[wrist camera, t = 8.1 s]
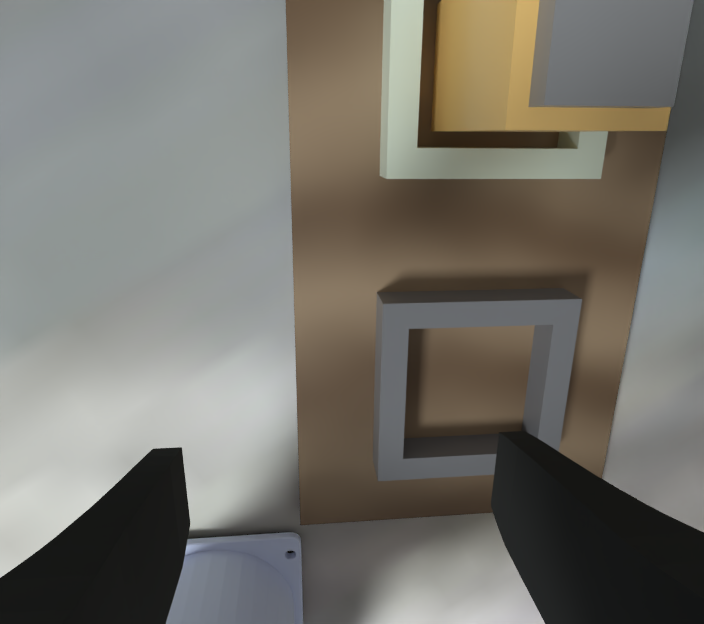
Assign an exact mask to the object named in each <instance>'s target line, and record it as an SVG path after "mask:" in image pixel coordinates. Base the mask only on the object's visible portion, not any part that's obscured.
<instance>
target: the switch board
mask: <svg viewBox="0 0 704 624" xmlns="http://www.w3.org/2000/svg"><path fill="white" fill-rule="evenodd" d="M440 1H441V0H424V8H423V30H422V52H421V74H420V96H419V118H418V140H417V147H505V148H557V145H558V137H559V132H450V131H431V123H432V102H433V82H434V62H435V41H436V21H437V4H438V3H439V2H440ZM383 14H384V0H286V24H287V60H288V96H289V132H290V168H291V204H292V240H293V276H294V312H295V347H296V383H297V419H298V455H299V491H300V525H310V524H325V523H340V522H355V521H370V520H385V519H401V518H416V517H431V516H446V515H461V514H476V513H491V512H493V510H492V508H491V497H492V489H493V480H494V475H477V476H460V477H443V478H426V479H409V480H392V481H378V480H377V476H376V471H375V467H374V463H373V427H374V386H375V344H376V303H377V292H407V291H453V290H498V289H544V288H564V289H566V290H567V291H569V292H571V293H573V294H574V295H576V296H578V297H580V298H581V299H582V304H581V311H580V317H579V324H578V330H577V337H576V343H575V350H574V356H573V363H572V369H571V376H570V382H569V389H568V395H567V402H566V408H565V415H564V421H563V428H562V434H561V441H560V447H559V452H560V453H562V454H563V455H565V456H566V457H568V458H569V459H571V460H572V461H574V462H576V463H577V464H579V465H580V466H582V467H583V468H585V469H587V470H588V471H590V472H591V473H593V474H595V475H596V476H598V477H599V478H601V479H602V474H603V468H604V463H605V458H606V452H607V447H608V442H609V436H610V431H611V426H612V421H613V415H614V410H615V405H616V399H617V394H618V389H619V383H620V378H621V373H622V367H623V362H624V357H625V351H626V346H627V341H628V335H629V330H630V325H631V319H632V314H633V309H634V303H635V298H636V293H637V287H638V282H639V277H640V271H641V266H642V261H643V255H644V250H645V245H646V239H647V234H648V229H649V223H650V218H651V213H652V207H653V202H654V197H655V191H656V186H657V181H658V175H659V170H660V165H661V159H662V154H663V149H664V143H665V138H666V133H667V131H608V136H607V142H606V149H605V155H604V162H603V168H602V175H601V179H386V178H383V177H381V176H380V138H381V96H382V55H383ZM670 111H671V110H670ZM669 117H670V116H669ZM668 122H669V121H668ZM667 127H668V126H667ZM534 327H535V325H527V326H493V327H459V328H425V329H409V338H408V360H407V382H406V404H405V426H404V438H421V437H441V436H460V435H480V434H499V432H513V431H521V430H522V423H523V415H524V407H525V399H526V391H527V383H528V375H529V367H530V359H531V351H532V343H533V335H534Z"/></svg>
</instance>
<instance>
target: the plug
mask: <svg viewBox="0 0 704 624" xmlns="http://www.w3.org/2000/svg"><path fill="white" fill-rule="evenodd" d="M693 2H694V0H441V1H440V2H439V3H438V4H437V21H436V41H435V62H434V82H433V102H432V123H431V131H450V132H596V131H667V126H668V121H669V116H670V110H671V107H674V104H675V99H676V93H677V88H678V83H679V77H680V72H681V66H682V61H683V56H684V50H685V45H686V40H687V34H688V29H689V23H690V18H691V13H692V7H693Z"/></svg>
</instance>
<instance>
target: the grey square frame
mask: <svg viewBox="0 0 704 624" xmlns="http://www.w3.org/2000/svg"><path fill="white" fill-rule="evenodd" d="M581 304H582V299H581V298H580V297H578V296H576V295H574V294H573V293H571V292H569V291H567V290H566V289H564V288H544V289H498V290H453V291H407V292H377V303H376V344H375V386H374V427H373V463H374V467H375V471H376V476H377V480H378V481H392V480H409V479H426V478H443V477H460V476H477V475H494V472H495V463H496V454H497V446H498V437H499V434H480V435H460V436H441V437H421V438H404V426H405V404H406V382H407V360H408V338H409V329H425V328H459V327H493V326H527V325H535V327H534V335H533V343H532V351H531V359H530V367H529V375H528V383H527V391H526V399H525V407H524V415H523V423H522V430H521V431H525V432H527V433H529V434H531V435H533V436H534V437H536V438H538V439H539V440H541V441H543V442H544V443H546V444H547V445H549V446H551V447H552V448H554V449H555V450H557V451H558V452H559V447H560V441H561V434H562V428H563V421H564V415H565V408H566V402H567V395H568V389H569V382H570V376H571V369H572V363H573V356H574V350H575V343H576V337H577V330H578V324H579V317H580V311H581Z"/></svg>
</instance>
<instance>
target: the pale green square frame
mask: <svg viewBox="0 0 704 624" xmlns="http://www.w3.org/2000/svg"><path fill="white" fill-rule="evenodd" d="M423 8H424V0H384V14H383V55H382V96H381V138H380V176H381V177H383V178H386V179H601V175H602V168H603V162H604V155H605V149H606V142H607V136H608V131H596V132H559V137H558V145H557V148H505V147H417V140H418V118H419V96H420V74H421V52H422V30H423Z"/></svg>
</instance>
